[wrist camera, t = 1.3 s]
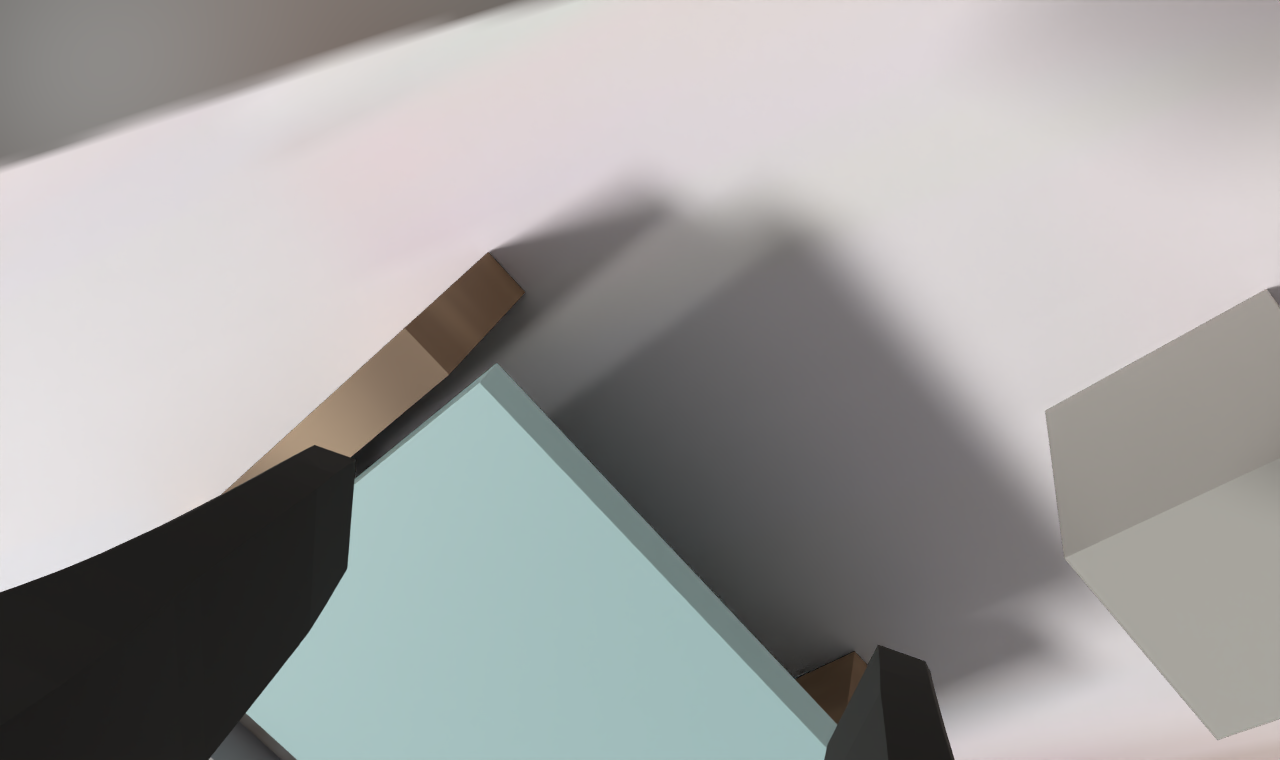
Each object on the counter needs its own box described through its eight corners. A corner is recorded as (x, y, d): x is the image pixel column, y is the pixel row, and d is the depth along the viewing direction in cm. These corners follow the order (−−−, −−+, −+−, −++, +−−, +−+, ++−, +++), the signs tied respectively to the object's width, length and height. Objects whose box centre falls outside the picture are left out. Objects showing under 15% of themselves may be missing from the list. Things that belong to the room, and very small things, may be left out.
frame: (521, 847, 32) (458, 994, 28) (181, 526, 30) (56, 638, 26) (887, 687, 25) (872, 852, 21) (484, 248, 23) (380, 342, 19)
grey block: (1395, 462, 20) (1512, 640, 15) (1169, 562, 22) (1216, 740, 18) (1266, 287, 19) (1352, 423, 15) (1044, 409, 21) (1064, 558, 17)
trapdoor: (399, 921, 30) (358, 999, 28) (116, 669, 28) (51, 735, 26) (866, 724, 22) (856, 816, 20) (512, 344, 20) (461, 404, 18)
